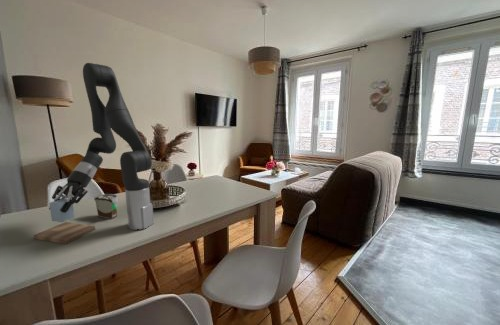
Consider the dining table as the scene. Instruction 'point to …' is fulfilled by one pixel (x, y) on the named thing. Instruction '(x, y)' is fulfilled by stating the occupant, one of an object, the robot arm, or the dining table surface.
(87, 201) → the dining table surface
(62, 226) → the walnut board
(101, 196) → the food container
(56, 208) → the slate block
